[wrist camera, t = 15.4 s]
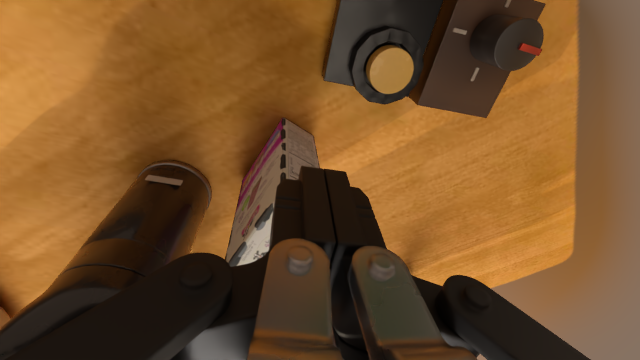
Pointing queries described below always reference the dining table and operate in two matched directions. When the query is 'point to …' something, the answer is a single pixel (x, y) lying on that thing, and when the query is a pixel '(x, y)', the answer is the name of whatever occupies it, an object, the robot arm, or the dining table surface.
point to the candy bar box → (267, 190)
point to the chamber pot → (3, 317)
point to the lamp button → (389, 69)
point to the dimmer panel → (464, 57)
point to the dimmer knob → (507, 41)
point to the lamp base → (377, 40)
